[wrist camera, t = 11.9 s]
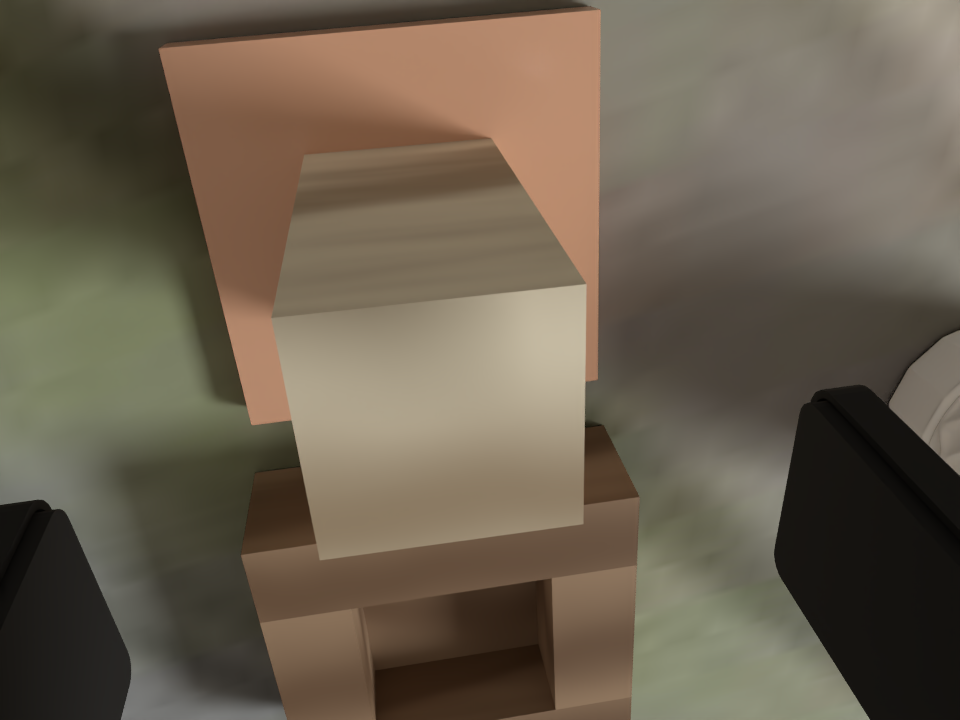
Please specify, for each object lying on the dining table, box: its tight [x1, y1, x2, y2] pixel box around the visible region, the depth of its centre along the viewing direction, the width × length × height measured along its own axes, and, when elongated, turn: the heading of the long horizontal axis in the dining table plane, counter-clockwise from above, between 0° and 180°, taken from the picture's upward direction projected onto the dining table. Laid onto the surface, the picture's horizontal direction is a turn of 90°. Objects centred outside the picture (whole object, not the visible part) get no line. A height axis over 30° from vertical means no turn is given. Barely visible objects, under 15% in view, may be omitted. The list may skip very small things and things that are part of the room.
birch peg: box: [271, 138, 587, 560], centre depth 18 cm, size 5×5×10 cm
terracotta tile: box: [158, 6, 601, 425], centre depth 23 cm, size 11×11×1 cm
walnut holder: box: [241, 425, 640, 720], centre depth 28 cm, size 12×12×4 cm
